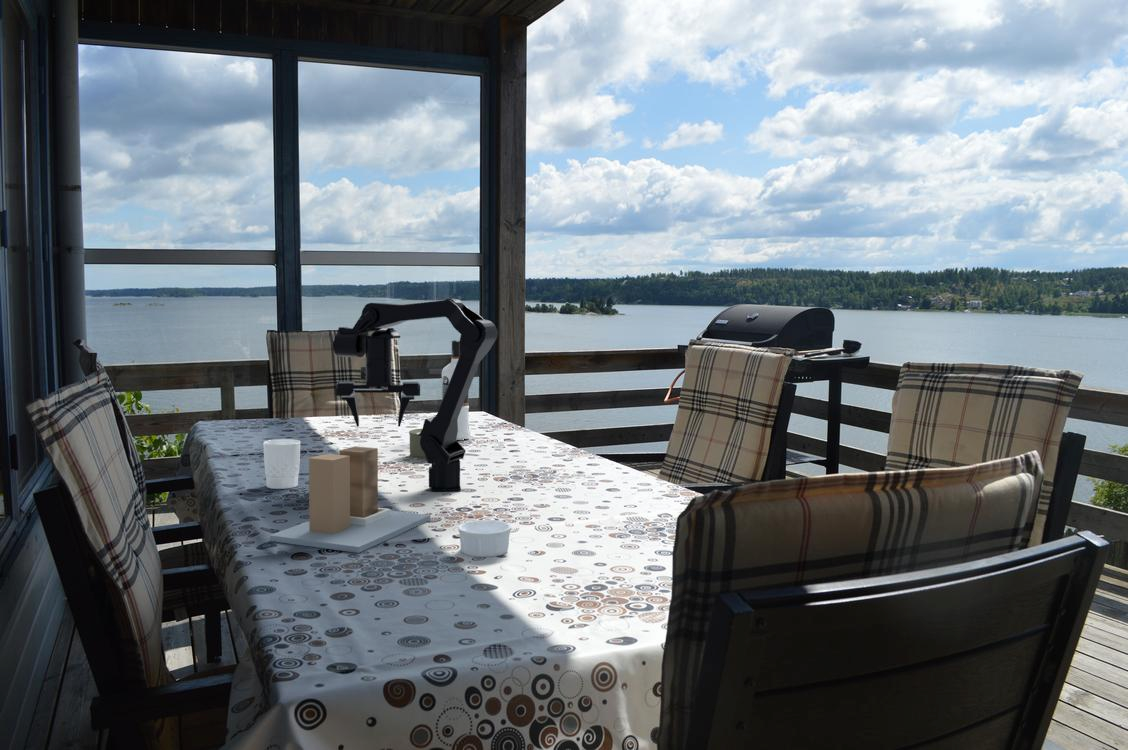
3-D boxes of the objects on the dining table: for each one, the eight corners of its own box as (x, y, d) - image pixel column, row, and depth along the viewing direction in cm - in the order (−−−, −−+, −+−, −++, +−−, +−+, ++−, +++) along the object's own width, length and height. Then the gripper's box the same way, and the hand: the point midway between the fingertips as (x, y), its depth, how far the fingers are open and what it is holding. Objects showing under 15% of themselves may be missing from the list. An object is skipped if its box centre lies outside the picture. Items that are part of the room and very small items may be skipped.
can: (462, 455, 239) (463, 430, 239) (434, 462, 229) (434, 436, 228) (429, 451, 245) (429, 426, 245) (399, 457, 235) (399, 431, 235)
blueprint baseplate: (350, 511, 174) (350, 441, 173) (430, 520, 168) (430, 447, 166) (269, 540, 151) (268, 460, 150) (358, 552, 145) (358, 469, 144)
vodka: (475, 439, 267) (476, 341, 264) (448, 442, 261) (449, 341, 259) (461, 435, 274) (461, 339, 272) (434, 437, 269) (435, 339, 266)
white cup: (266, 491, 191) (266, 445, 190) (261, 484, 198) (260, 440, 197) (303, 488, 194) (303, 443, 194) (297, 481, 201) (296, 438, 201)
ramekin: (489, 562, 142) (490, 535, 141) (447, 553, 146) (447, 527, 146) (521, 549, 149) (521, 524, 149) (479, 541, 154) (479, 517, 154)
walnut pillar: (355, 513, 168) (354, 446, 167) (377, 516, 166) (377, 448, 165) (339, 519, 163) (339, 450, 162) (362, 522, 161) (362, 452, 160)
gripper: (420, 356, 209) (419, 421, 210) (339, 355, 206) (339, 421, 207) (420, 359, 198) (420, 428, 199) (335, 358, 195) (335, 428, 196)
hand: (378, 426), depth 200 cm, fingers open, 9 cm apart
